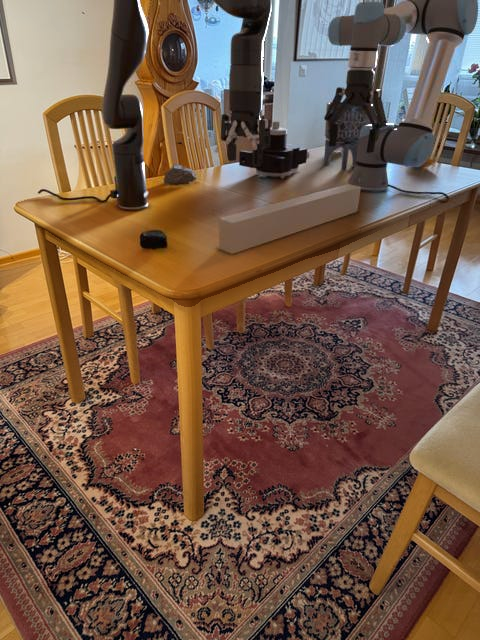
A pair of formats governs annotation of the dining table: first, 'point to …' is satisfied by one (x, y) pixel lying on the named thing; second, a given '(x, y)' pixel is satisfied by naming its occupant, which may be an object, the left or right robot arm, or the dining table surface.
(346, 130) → the planter
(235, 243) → the bar
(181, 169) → the rock
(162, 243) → the tape measure
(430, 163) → the toy
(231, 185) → the dining table surface
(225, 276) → the dining table surface
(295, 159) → the mechanical component
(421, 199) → the dining table surface
